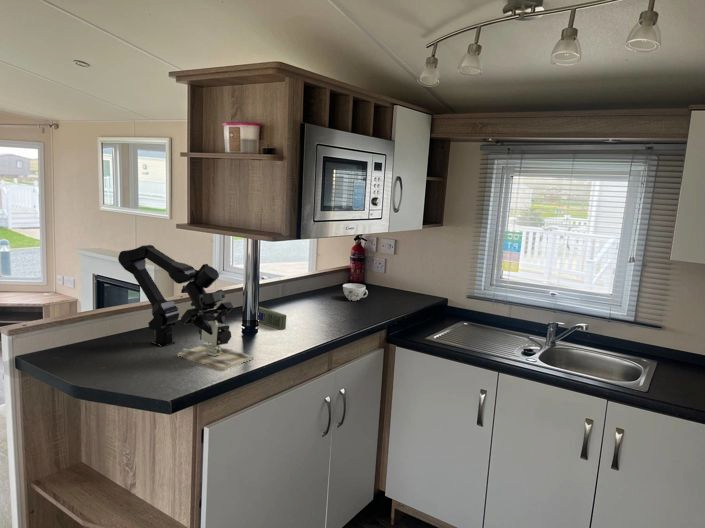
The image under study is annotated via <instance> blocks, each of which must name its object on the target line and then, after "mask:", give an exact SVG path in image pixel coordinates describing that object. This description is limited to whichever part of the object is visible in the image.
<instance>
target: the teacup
mask: <svg viewBox="0 0 705 528" xmlns="http://www.w3.org/2000/svg"><path fill="white" fill-rule="evenodd" d="M342 290H343V294H344V296H345V297H346V298H347V300H349V301H351V300H352V302H353V301H354V302H357V300H358V301H359V300H360V299H363V298H366V297H367V296H368V294H369V293H368V290H367V289H366V285H365V284H361V283H351V282H350V283H344V284H343V285H342ZM364 294H365V295H364Z"/></svg>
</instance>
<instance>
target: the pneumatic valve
mask: <svg viewBox="0 0 705 528" xmlns="http://www.w3.org/2000/svg"><path fill="white" fill-rule="evenodd" d="M207 321H208V320H207ZM208 323H209V325H210V327H211V330H212V333H213V334H212V335H210V334H208V333H207V332H205V331H204V330H202V329H201V328H199V327H198V334H199V340H200V341H203V342H205V343H206V342H207V344H208V343H209V344H212V345H206V351H207V352H206V354H207V355H209V356H212V357H213V356H216V355H220V353H221V350H220V348H221V347H222V346H221V345H227V344H229V342H230V340H231V338H232V332H231V330H230V325H229V324H226V323H225V324H222V323H218V322H217V321H216V320H215V321H214V320H210V321H208Z"/></svg>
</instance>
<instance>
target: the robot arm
mask: <svg viewBox="0 0 705 528" xmlns="http://www.w3.org/2000/svg"><path fill="white" fill-rule="evenodd" d="M146 259H147V260H149V262H151V263H153V264H155V265H156V266H158V267H159V268H161V269H162V270H164V271H166V273H167V274H168V276H169V278H171V280H172V281H174V283H176V284H179V285H180V284H185V283H187V284H185V285H182V288H181V290H180V293H181V294H187V295H188V297H189V299H190V300H191V303H190V306H191V307H194V308H190V309H186V311H185V312H184V313H183V314H182V316H181V317H180V311H179V308H178V307H177V305H176V303H175V302H174V301H173V300H166V298H164V295H163V294H162V293H161V292H162V291H160V289H159V287H158V286H157V284H156V283H155V281H154V280H153V277H152V276H151V274H150V273H149V271H148V269H147V268H146V265H147V263H146ZM117 260H118V263H119V264H120V265H121V267H122V268H123V269H124V270H125V271H127V272H129V273H130V274H132V276H133V277H134V279H135V281H136V282H137V284H138V285H139V287H140V288H141V289H142V292H143V293H144V295H145V297H146V298H147V300H148V302H149V304H150V305H151V315H152V318H151V320H150V321H149V322H148V323H147V324H148V325H147V326H148V328H149V330H153V341H154V342H155V343H156V344H157V345H158V344H160V345H161V346H163V345H166V346H168V345H167V344H169V345H171V344H170V343H173V344H175V343H176V341H175V340H173V327H175V326H176V325H177V323H178V320H179V318H180V322H181V323H182V325H183V326H185V325H190V324H191V325H192V326H195V327H197V328H198V329H199V328H201V329H202V330H204V331H205V332H207V333H208V334H210V335H212V334H213V333H212V330H211V327H210V325H209V323H208V319H207V316H210V315H213V316H214V318H213V320H212V321H215V320H216V321H217V322H218V323H222V324H225V325H226V317H225V316H227V315H228V314H229V313H230V312H231V311H232V310H233V309H234V306H233V304H232V302H231V301H224V302H223V299H225V298H226V295H225V292H224V291H223V289H217V290H216V291H215V292H206V289H209V288H210V287H211V285H213V284H214V283H215V281H217V280H218V279H219V277H220V275H219V272H218V270H217V269H215V268H214V267H212V266H210V265H209V264H208V263H204V264H202V265H201V266H200V268H199V269H195V268H194V267H193V266H192V265H189V264H187V263H183V262H179V261H176V260H174V259H173V258H171V257H170V256H168V255H167V254H165V253H164V252H161V251H160V250H159V249H157V248H155V246H154V245H151V244H145V245H141V246H139V247H136V248H133V249H126V250H122V251H120V252H119V254H118V258H117ZM218 302H220V304H218ZM174 342H175V343H174ZM157 345H156V346H157ZM163 347H164V346H163Z"/></svg>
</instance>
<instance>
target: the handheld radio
mask: <svg viewBox="0 0 705 528" xmlns="http://www.w3.org/2000/svg"><path fill="white" fill-rule="evenodd" d="M258 320H259V322H258V323H260V324H263V325H264V326H265V325H266V326H268V327H271V328H275V329H277V330H280V331H285V330H286V329H287V326H286V325H287V314H284V313H281V312H278V311H275V310H272V309H269V308H265V307H263V306H259V315H258ZM284 329H285V330H284Z"/></svg>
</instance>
